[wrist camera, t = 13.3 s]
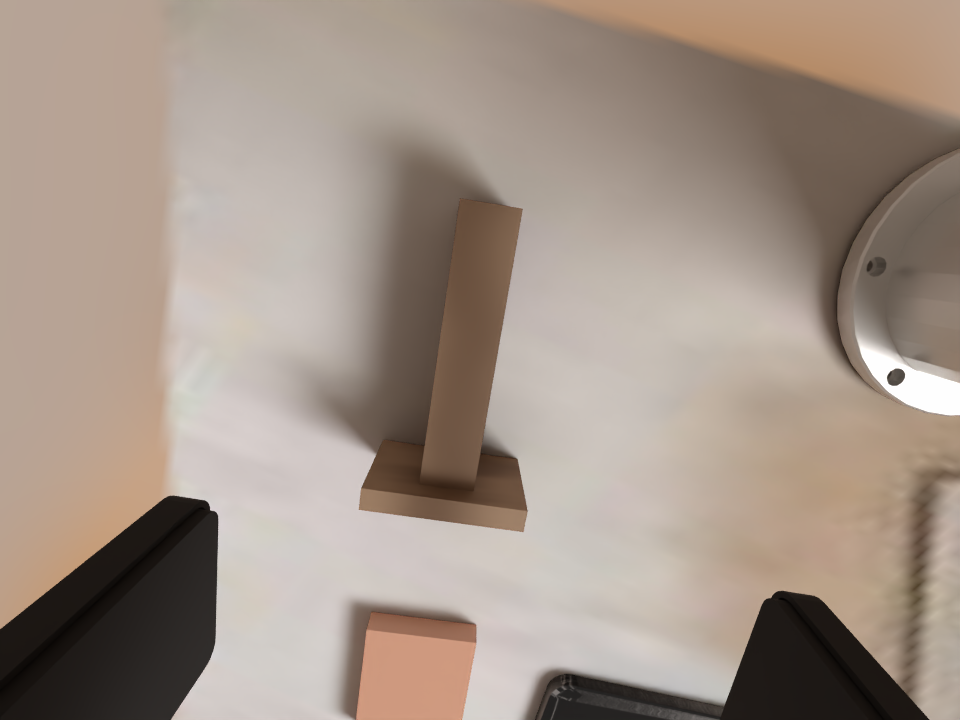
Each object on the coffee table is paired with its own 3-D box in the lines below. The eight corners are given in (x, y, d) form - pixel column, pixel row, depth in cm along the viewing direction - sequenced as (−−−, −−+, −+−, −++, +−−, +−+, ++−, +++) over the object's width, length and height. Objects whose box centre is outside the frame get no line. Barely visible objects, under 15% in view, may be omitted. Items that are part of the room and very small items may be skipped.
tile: (476, 642, 26) (455, 754, 28) (476, 619, 28) (456, 725, 30) (366, 629, 26) (353, 743, 28) (373, 606, 28) (359, 714, 30)
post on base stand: (563, 222, 22) (588, 217, 17) (514, 475, 25) (523, 532, 20) (412, 196, 22) (394, 185, 17) (381, 457, 25) (358, 509, 20)
